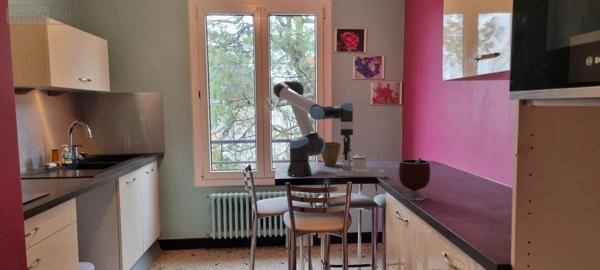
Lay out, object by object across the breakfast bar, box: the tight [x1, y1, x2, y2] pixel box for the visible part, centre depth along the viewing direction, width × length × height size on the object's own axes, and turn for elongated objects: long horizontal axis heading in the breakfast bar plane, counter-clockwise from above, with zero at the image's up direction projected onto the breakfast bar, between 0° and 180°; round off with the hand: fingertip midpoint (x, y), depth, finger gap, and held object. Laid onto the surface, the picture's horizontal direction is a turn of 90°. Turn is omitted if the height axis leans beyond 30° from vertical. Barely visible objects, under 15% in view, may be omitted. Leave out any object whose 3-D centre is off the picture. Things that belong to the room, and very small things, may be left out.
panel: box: [335, 167, 385, 180], centre depth 226 cm, size 28×9×4 cm, turn 78°
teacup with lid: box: [350, 152, 367, 169], centre depth 246 cm, size 12×9×12 cm
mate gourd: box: [398, 157, 431, 201], centre depth 173 cm, size 16×14×20 cm
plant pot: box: [321, 141, 342, 167], centre depth 269 cm, size 15×15×16 cm
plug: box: [342, 154, 352, 171], centre depth 227 cm, size 4×4×13 cm
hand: (347, 163), depth 227 cm, fingers open, 13 cm apart
